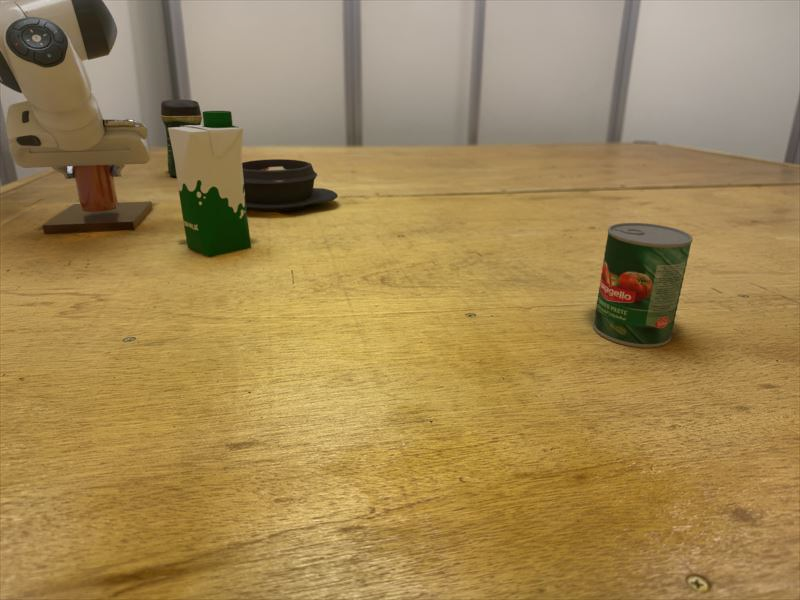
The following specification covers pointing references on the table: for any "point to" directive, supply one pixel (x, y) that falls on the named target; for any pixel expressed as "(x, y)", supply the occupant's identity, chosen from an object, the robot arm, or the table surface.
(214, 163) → the milk carton
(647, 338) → the canned tomato
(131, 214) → the board
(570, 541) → the table surface
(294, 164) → the casserole
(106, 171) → the honey jar
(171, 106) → the coffee jar
